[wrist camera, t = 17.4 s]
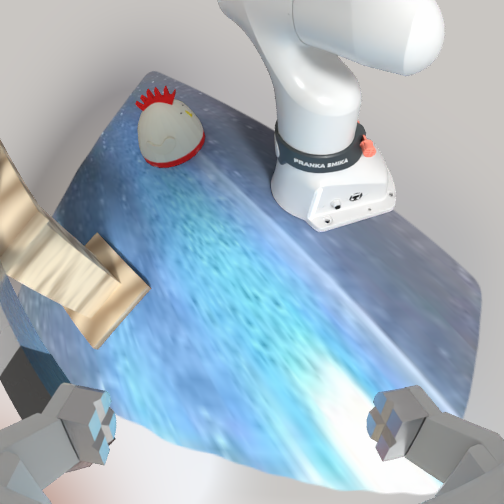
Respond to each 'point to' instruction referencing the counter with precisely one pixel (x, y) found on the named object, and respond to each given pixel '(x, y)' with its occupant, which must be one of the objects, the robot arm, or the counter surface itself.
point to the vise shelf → (63, 262)
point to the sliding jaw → (26, 360)
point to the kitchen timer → (168, 130)
